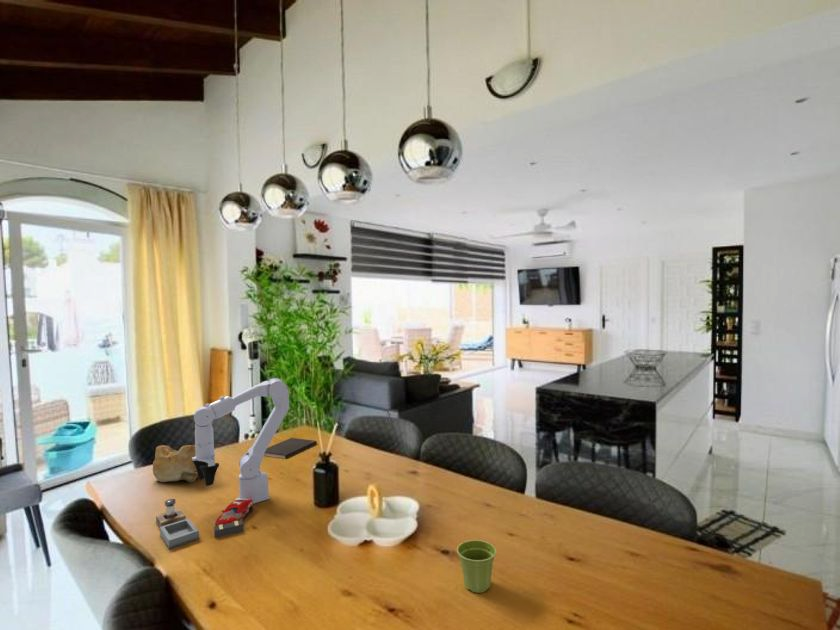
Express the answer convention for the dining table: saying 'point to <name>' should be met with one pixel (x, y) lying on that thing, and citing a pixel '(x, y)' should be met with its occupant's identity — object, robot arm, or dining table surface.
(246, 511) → the race car
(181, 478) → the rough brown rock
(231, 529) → the wheel stop
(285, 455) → the hardcover book
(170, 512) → the pin
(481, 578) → the plant pot
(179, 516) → the pin holder
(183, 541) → the tray
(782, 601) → the dining table surface
